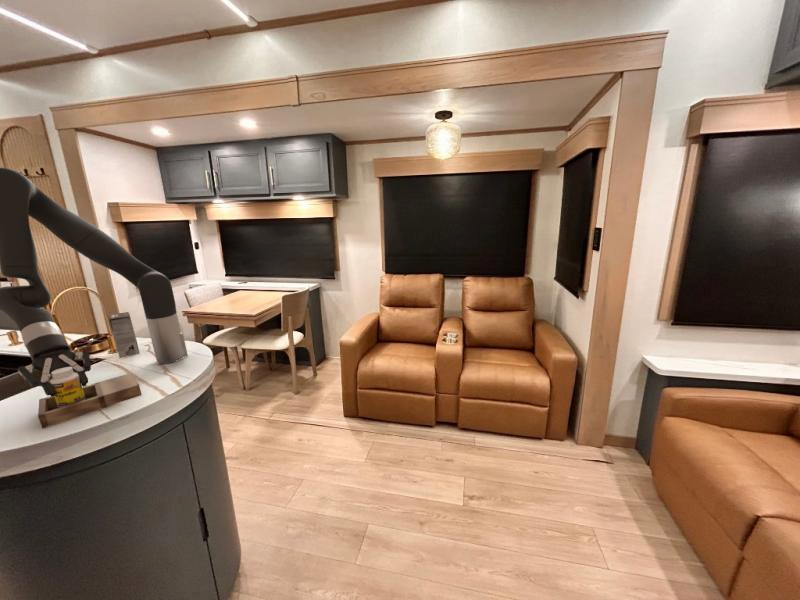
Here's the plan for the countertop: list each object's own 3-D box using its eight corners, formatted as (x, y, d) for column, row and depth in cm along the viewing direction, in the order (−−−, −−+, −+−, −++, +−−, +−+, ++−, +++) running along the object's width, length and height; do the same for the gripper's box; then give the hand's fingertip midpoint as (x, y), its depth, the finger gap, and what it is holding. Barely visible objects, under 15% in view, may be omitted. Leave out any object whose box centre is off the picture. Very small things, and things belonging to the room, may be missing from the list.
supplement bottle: (55, 411, 85) (43, 376, 82) (61, 402, 89) (50, 369, 86) (83, 404, 87) (72, 370, 85) (88, 395, 92) (78, 363, 89)
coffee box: (118, 352, 129) (107, 314, 125) (138, 347, 133) (128, 311, 129) (119, 358, 123) (108, 319, 119) (140, 353, 127) (130, 315, 123)
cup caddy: (134, 382, 103) (132, 372, 102) (141, 395, 94) (139, 384, 94) (43, 410, 88) (39, 399, 88) (42, 428, 80) (37, 416, 79)
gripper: (4, 342, 82) (29, 396, 78) (80, 326, 93) (104, 372, 90) (7, 357, 86) (31, 408, 82) (79, 340, 97) (103, 384, 94)
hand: (69, 389), depth 86 cm, fingers closed on supplement bottle, 5 cm apart
